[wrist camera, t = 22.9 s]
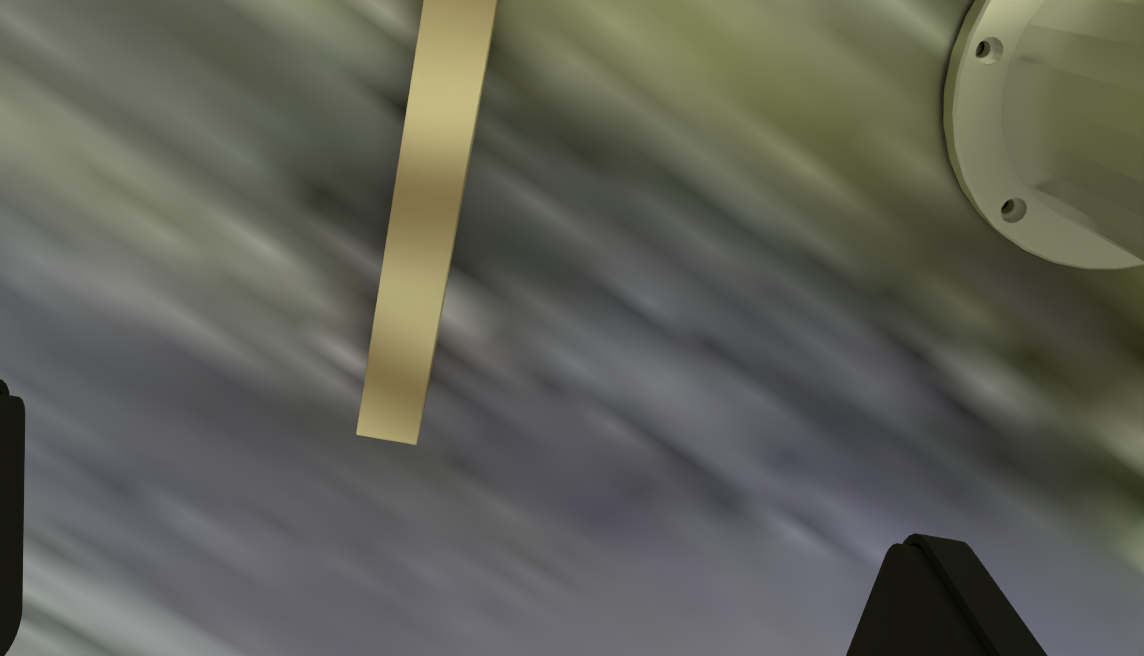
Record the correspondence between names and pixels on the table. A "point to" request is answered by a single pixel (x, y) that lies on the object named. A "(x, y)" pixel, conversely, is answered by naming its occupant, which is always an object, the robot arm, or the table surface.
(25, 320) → the table surface
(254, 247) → the table surface
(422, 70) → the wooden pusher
